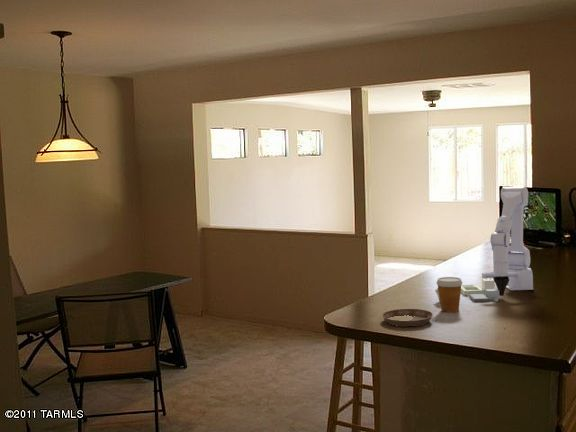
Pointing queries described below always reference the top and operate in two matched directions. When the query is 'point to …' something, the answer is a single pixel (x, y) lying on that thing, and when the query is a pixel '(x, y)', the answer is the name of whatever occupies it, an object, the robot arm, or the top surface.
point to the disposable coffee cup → (449, 293)
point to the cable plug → (492, 294)
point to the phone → (478, 298)
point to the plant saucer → (419, 319)
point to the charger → (488, 284)
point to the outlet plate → (471, 289)
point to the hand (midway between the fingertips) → (501, 295)
